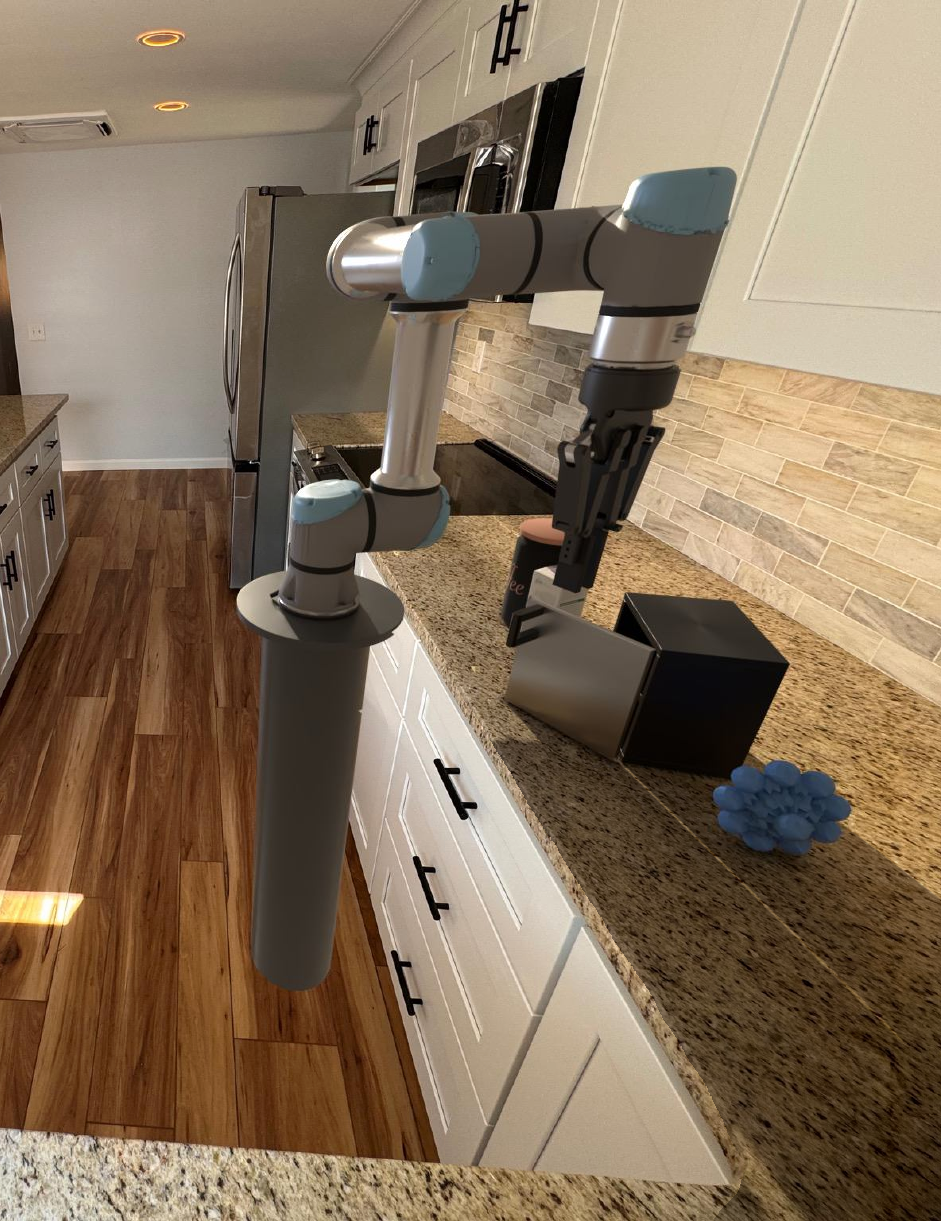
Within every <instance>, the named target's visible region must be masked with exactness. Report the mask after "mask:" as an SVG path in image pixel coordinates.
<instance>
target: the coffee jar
mask: <svg viewBox="0 0 941 1221" xmlns="http://www.w3.org/2000/svg"><path fill="white" fill-rule="evenodd" d="M552 520H553V517H552V518H551V517H544V518H543V517H542V518H541V517H539V518H530V519H527V520H524V521H523V522H521V523H520V524H519V533H520V535H519V536H517V538H516V542H515V547H514V549H513V550H514V551H513V555H512V559H511V564H510V570H509V573H508V578H507V582H506V587H505V591H504V596H503V600H502V605H501V608H500V609H501V610H500V617H501V619H502V620H503V623H504V624H505V626H506V627H508V629H509V628H510V623H511V619H512V615H513V612H515V611H518V610H521V609H524V608H526V605H527V600H528V596H529V592H530V587H531V583H532V578H533V574H534V570H538V569H541V568H545V567H549V566H554V565H557V564H558V560H559V555H560V552H561V549H562V544H563V540H564V536H565V534H564V532H562V531H559V530H556V529H553V528H552ZM521 626H522V622H521ZM521 626H520V630H521ZM520 630H519V632H520Z"/></svg>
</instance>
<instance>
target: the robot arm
mask: <svg viewBox="0 0 941 1221" xmlns="http://www.w3.org/2000/svg"><path fill="white" fill-rule="evenodd" d="M737 181H738V175H737V173H736V171H735V170H734V169H733V168H731V167H728V166H706V167H694V168H693V167H692V168H683V169H674V170H665V171H657V172H652V173H646V174H643V175H640V176H639V177H637V178H636V179H634V180H633V182H632V183H631V185H630V186H629V189H628V192H627V195H626V197H625V200H624V202H623V204H612V205H611V204H610V205H601V206H600V205H599V206H597V205H596V206H594V205H591V206H588V207H585V206H583V207H573V208H571V207H570V208H561V209H560V208H558V209H547V210H545V209H544V210H535V211H533V210H532V211H522V212H521V211H520V212H507V213H506V212H505V213H489V214H478V213H475V212H471V211H450V210H447V211H444V212H433V213H421V214H420V213H419V214H408V215H396V216H379V217H374V218H369V219H366V220H363V221H360V222H357V223H356V224H355V223H354V224H353V225H351V226H350V227H348V228H347V229H345V230H343V232H341V233H340V234H339V235H338V236H337V237H336V239H335V240H334V241H333V242H332V245H331V246H330V248H329V250H328V254H327V258H326V262H325V263H326V264H325V266H326V267H325V268H326V276H327V279H328V282H329V284H330V285H331V287H332V288H333V289H334V290H335V291H336V293H338V294H340V295H341V296H342V297H344V298H348V299H350V300H354V301H360V302H369V303H371V302H389V306H388V314H389V315H390V316H391V317H392V319H394V321H395V322H396V329H395V330H396V331H395V340H394V347H393V348H394V349H393V356H392V365H391V374H390V384H389V392H388V401H387V409H386V419H385V427H384V436H383V445H382V451H381V452H382V454H381V462H380V467H379V468H378V469H376V471H374V472H373V473H372V474H371V475H370V481H369V487H368V488H362V486H361V485H360V483H358V481H357V482H356V481H354V480H350V479H342V480H340V479H337V478H336V479H328V480H327V479H326V480H321V481H316V482H313V483H310V484H307V485H306V486H304V487H302V488H301V489H299V490H298V491H297V493H295V496H294V498H293V504H292V509H291V510H292V511H291V515H290V520H291V530H290V531H291V532H290V548H289V549H290V550H289V564H288V567H287V570H286V571H287V572H286V574H285V577H284V579H283V582H282V584H281V586H280V589H279V590H277V591H275V592H273V593H271V594H270V597H271V598H274V597H276V596H278V603H279V605H280V607H281V608H282V609H283V610H285V611H286V612H288V613H290V614H292V615H294V616H297V617H300V618H304V619H310V620H320V621H328V620H337V619H342V618H346V617H348V616H351V615H352V614H354V613H355V612H356V611H357V610H358V608H359V604H360V600H361V599H360V593H359V589H358V585H357V581H356V578H355V575H356V574H355V571H354V570H355V569H354V563H355V555H356V554H365V553H366V554H367V553H382V552H401V551H403V552H411V551H415V550H422V549H428V548H431V547H433V546H434V545H435V544H436V543H438V542H439V541H440V539H441V538H442V537H443V536H444V534H445V532H446V530H447V527H448V523H449V521H450V516H451V505H450V504H449V503H450V500H451V498H450V495H449V492H448V490H447V488H446V487H445V486H443V485H442V484H441V477H440V476H439V475H438V474H437V473H436V472H435V470H434V464H435V459H436V458H435V456H436V451H437V444H438V438H439V431H440V424H441V419H442V413H443V412H442V411H443V405H444V398H445V393H446V392H445V391H446V384H447V379H448V371H449V365H450V359H451V351H452V344H453V338H454V331H455V325H456V322H457V320H458V319H460V317H462V316H463V315H464V314H465V313H466V312H467V311H468V310H469V304H470V303H469V302H470V298H483V297H494V296H511V295H513V296H514V295H515V296H516V295H528V294H529V295H531V294H545V293H546V294H548V293H559V292H560V293H562V292H574V291H575V292H577V291H578V292H579V291H590V292H591V291H593V292H603V293H602V298H601V302H600V305H599V306H600V307H599V309H598V315H597V319H596V321H595V326H594V329H593V334H592V337H591V341H590V344H589V349H588V353H587V357H588V358H589V359H590V360H593V362H592V363H589V364H588V365H587V366H586V367H585V368H584V371H583V375H582V380H581V382H580V387H579V392H578V396H577V400H578V402H579V403H580V404H581V405H583V406H585V407H586V409H587V413H586V415H585V417H584V419H583V421H582V423H581V425H580V427H579V434H578V435H577V436H576V437H575V438H574V439H573V440H571V441H567V440H562V441H560V442H559V444H558V445H557V448H556V451H557V457H558V463H559V464H558V473H557V480H556V489H555V497H554V505H553V514H552V519H553V520H552V528H553V529H556V530H559V531H562V532H564V534H565V536H564V540H563V544H562V549H561V552H560V555H559V560H558V564H557V568H556V572H555V576H554V580H553V584H552V585H555V586H557V587H560V588H562V589H565V590H568V591H570V592H573V593H575V594H576V593H579V592H580V591H581V587H584V588H586V589H589V590H590V589H593V588H594V584H595V581H596V578H597V574H598V571H599V567H600V564H601V561H602V558H603V553H604V550H605V546H606V543H607V540H608V536H609V533H610V532H614V533H619V532H621V531H622V529H623V528H624V524H619V523H617V522H618V521H620V522H624V521H626V520H627V518H628V517H629V515H630V512H631V510H632V507H633V505H634V502H635V500H636V498H637V495H638V493H639V490H640V489H641V488H640V487H641V485H642V483H643V480H644V477H645V475H646V472H647V470H648V468H649V465H650V462H651V460H652V458H653V456H654V452H655V451H656V449H657V447H658V446H659V445H660V442H661V441H662V439H663V438H664V436H665V434H666V428H665V427H663V426H658V425H654V424H652V423H653V420H654V411H658V410H662V409H665V408H667V407H668V406H669V405H671V404H672V401H673V398H674V396H675V392H676V389H677V385H678V382H679V378H680V375H681V372H682V369H681V368H680V366H679V365H678V364H676V362H678V361H681V360H682V359H684V358H685V357H686V353H687V350H688V346H689V343H690V340H691V338H693V337H694V336H695V335H696V333H697V328H696V327H695V324H696V321H697V316H698V313H699V312H700V309H701V303H703V299H704V296H705V292H706V290H707V286H708V283H709V280H710V277H711V275H712V271H713V267H714V265H715V262H716V258H717V255H718V252H719V249H720V246H721V242H722V239H723V237H724V233H725V230H726V228H727V227H728V226H729V223H730V219H729V218H730V211H731V207H732V203H733V198H734V195H735V190H736V186H737ZM609 531H610V532H609Z"/></svg>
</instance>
